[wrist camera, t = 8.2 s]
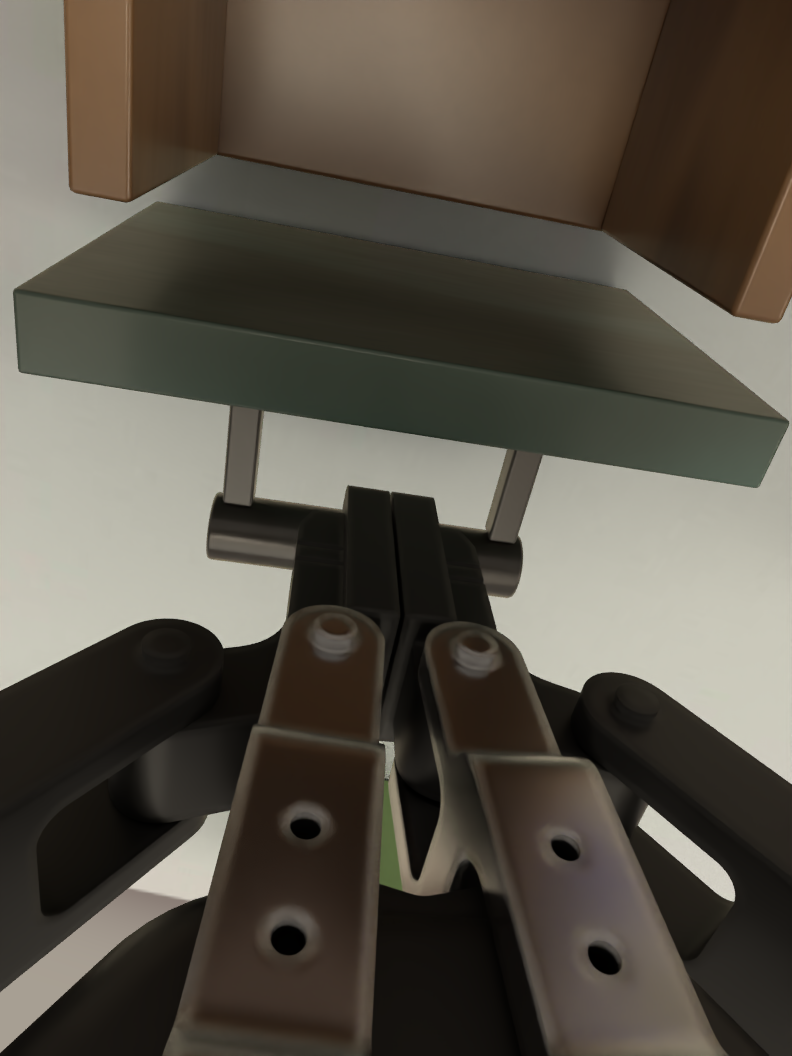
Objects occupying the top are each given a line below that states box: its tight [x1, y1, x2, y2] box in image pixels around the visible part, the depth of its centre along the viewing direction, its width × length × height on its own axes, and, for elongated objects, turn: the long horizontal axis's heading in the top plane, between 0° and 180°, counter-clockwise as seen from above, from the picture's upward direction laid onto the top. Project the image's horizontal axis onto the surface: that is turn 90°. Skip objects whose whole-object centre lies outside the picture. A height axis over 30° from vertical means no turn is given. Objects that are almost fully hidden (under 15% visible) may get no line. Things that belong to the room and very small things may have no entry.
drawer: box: [13, 0, 792, 598], centre depth 13 cm, size 18×11×8 cm, turn 169°
